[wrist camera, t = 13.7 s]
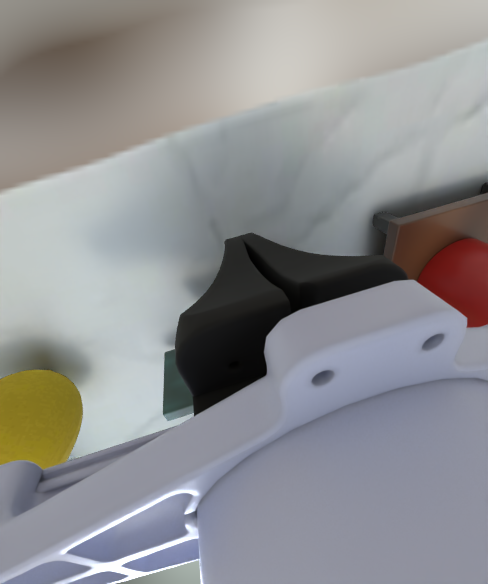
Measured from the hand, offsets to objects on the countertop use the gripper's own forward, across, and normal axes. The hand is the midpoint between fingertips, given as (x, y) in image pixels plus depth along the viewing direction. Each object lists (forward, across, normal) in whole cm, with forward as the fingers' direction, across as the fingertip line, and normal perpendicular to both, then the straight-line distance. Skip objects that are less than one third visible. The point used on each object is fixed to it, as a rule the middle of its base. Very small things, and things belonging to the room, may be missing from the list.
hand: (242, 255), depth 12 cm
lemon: (+3, +14, +6) cm, 16 cm away
